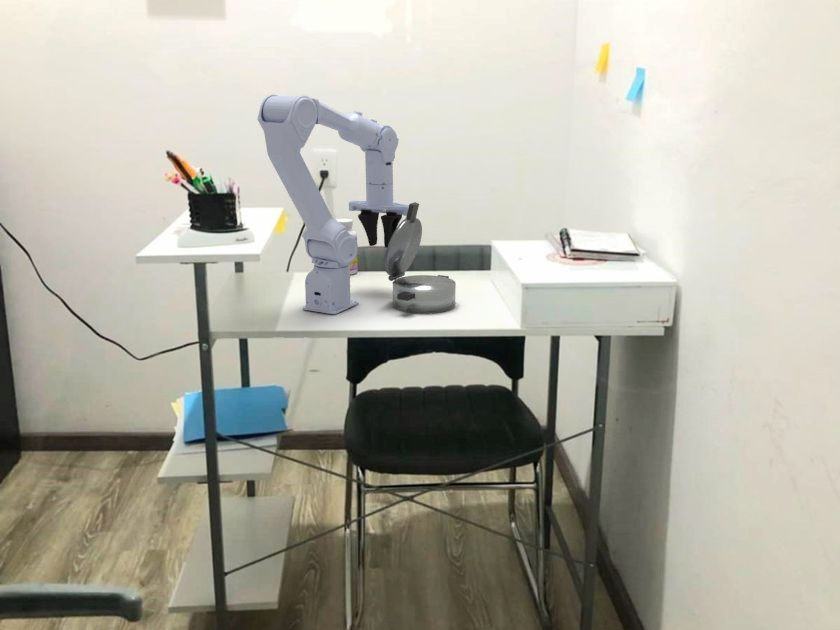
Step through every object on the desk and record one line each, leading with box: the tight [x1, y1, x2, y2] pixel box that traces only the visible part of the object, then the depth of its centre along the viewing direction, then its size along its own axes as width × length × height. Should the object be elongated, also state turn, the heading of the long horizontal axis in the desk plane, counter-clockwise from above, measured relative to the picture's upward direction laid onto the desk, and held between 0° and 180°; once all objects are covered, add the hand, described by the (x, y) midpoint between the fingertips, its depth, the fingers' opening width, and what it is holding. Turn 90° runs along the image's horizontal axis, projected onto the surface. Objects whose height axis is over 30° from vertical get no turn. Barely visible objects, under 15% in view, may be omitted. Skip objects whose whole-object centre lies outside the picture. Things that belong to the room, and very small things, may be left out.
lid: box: [384, 201, 423, 282], centre depth 168 cm, size 13×17×1 cm
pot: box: [392, 274, 456, 315], centre depth 169 cm, size 19×13×5 cm
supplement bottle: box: [334, 218, 358, 276], centre depth 194 cm, size 7×7×13 cm
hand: (380, 245), depth 176 cm, fingers open, 3 cm apart
